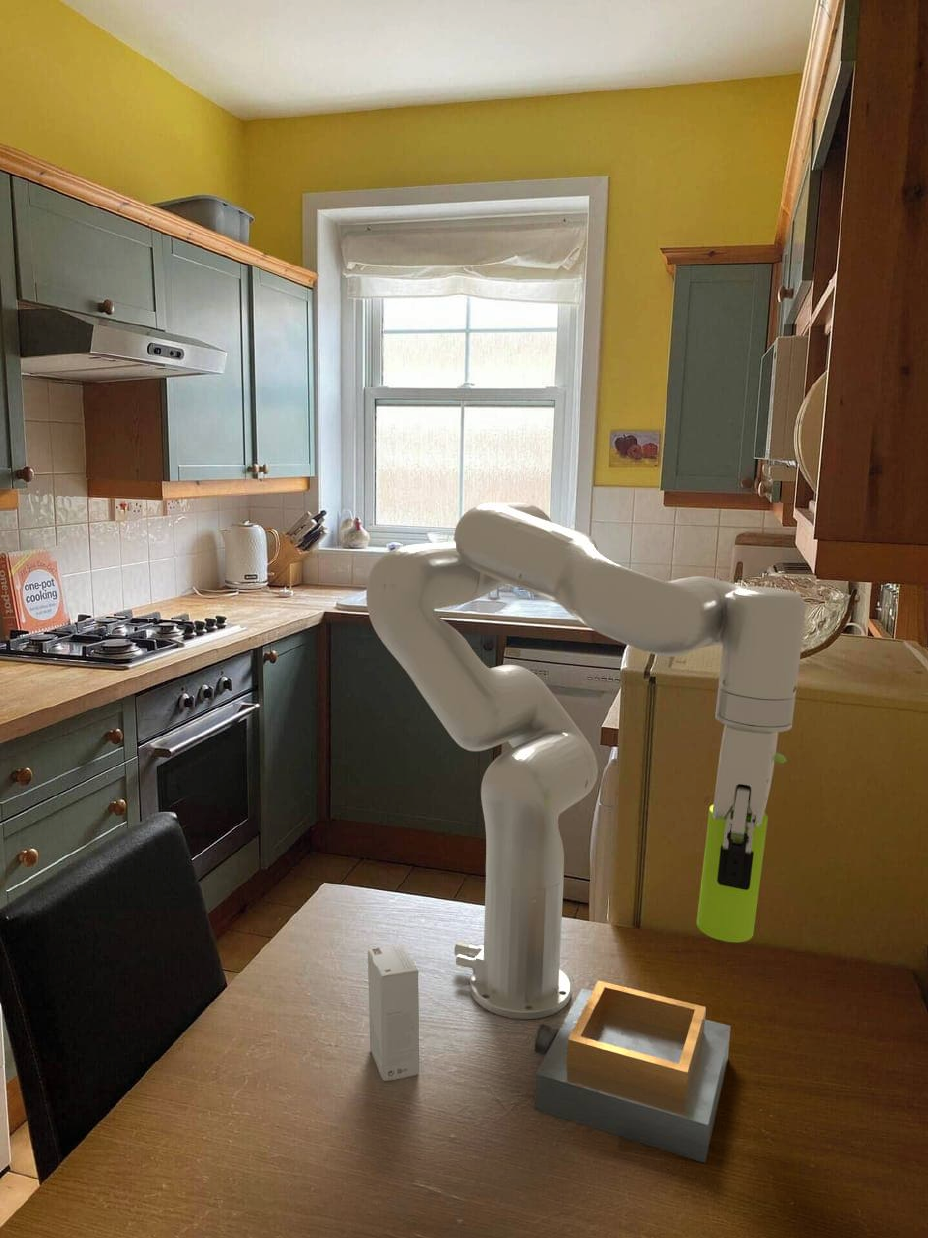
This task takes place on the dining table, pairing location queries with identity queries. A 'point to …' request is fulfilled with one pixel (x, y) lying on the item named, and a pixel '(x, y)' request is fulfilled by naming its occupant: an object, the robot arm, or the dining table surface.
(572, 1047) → the bottle holder tray
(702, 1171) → the dining table surface
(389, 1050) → the skincare box
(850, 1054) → the dining table surface
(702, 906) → the green pump bottle
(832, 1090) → the dining table surface
